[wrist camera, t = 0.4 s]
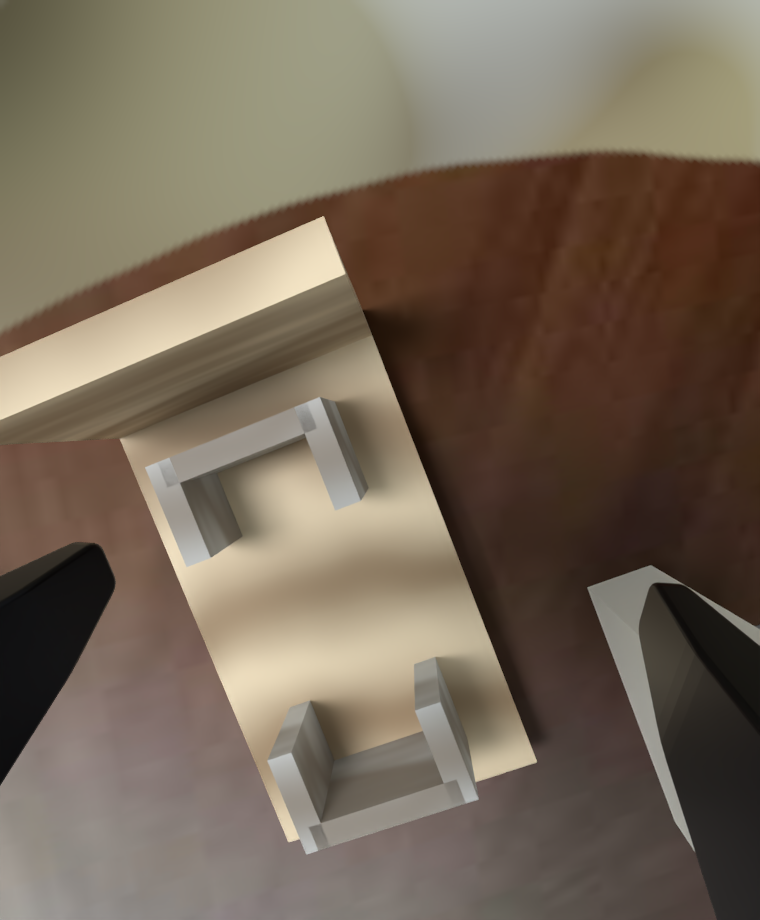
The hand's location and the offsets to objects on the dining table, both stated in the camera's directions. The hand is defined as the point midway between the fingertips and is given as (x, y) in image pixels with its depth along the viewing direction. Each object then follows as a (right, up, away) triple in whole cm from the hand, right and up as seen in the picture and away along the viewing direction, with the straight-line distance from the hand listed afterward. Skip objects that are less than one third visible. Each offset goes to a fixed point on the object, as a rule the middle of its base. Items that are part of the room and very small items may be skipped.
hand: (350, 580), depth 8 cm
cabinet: (-2, -4, +15) cm, 16 cm away
